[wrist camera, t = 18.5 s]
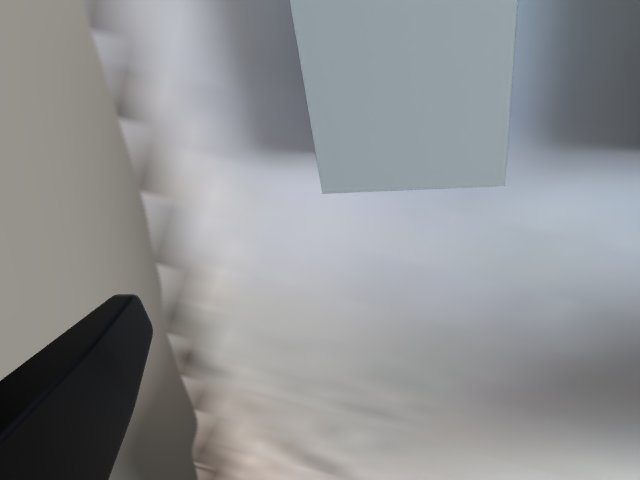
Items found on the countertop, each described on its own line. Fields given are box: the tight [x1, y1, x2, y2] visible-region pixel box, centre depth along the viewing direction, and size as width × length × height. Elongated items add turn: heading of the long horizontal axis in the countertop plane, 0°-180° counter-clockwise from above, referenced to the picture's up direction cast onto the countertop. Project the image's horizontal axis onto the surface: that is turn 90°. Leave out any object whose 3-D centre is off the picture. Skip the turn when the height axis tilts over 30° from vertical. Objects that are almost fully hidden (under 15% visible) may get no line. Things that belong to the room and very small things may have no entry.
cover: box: [290, 0, 518, 194], centre depth 18 cm, size 7×6×3 cm
